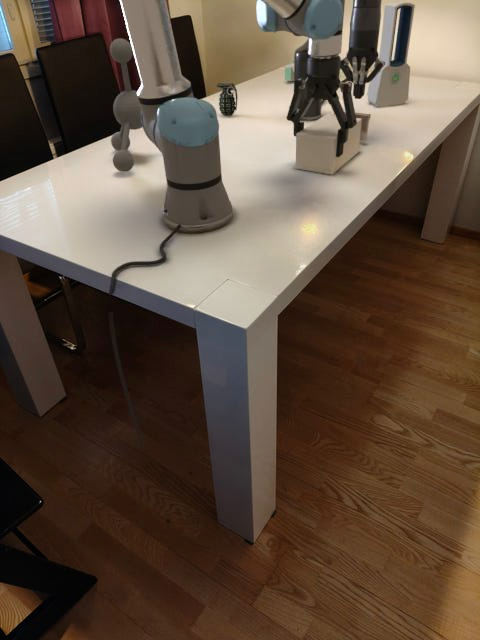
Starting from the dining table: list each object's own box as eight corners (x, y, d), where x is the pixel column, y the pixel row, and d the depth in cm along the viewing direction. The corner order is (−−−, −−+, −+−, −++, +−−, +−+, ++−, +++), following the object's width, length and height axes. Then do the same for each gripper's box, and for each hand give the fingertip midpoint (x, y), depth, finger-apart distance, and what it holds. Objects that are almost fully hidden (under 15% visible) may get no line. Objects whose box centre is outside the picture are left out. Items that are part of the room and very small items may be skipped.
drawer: (344, 130, 147) (346, 106, 143) (373, 134, 143) (376, 109, 139) (312, 153, 133) (313, 128, 128) (344, 158, 128) (346, 132, 124)
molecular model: (197, 163, 134) (184, 38, 115) (117, 178, 128) (90, 49, 109) (174, 139, 151) (159, 27, 133) (103, 151, 145) (77, 36, 127)
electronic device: (375, 107, 168) (387, 4, 150) (365, 102, 174) (375, 2, 155) (407, 103, 170) (423, 1, 152) (396, 98, 176) (410, -1, 158)
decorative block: (306, 53, 217) (348, 56, 208) (306, 69, 221) (346, 73, 212) (276, 65, 201) (319, 68, 192) (276, 82, 205) (318, 86, 196)
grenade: (217, 117, 168) (214, 86, 162) (221, 112, 172) (219, 82, 166) (235, 117, 166) (233, 86, 160) (239, 113, 171) (238, 82, 165)
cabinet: (324, 147, 139) (326, 114, 134) (358, 152, 135) (362, 118, 129) (295, 168, 128) (296, 133, 122) (332, 174, 123) (334, 139, 118)
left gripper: (378, 55, 109) (367, 153, 122) (287, 50, 119) (286, 141, 132) (366, 61, 104) (356, 163, 117) (272, 55, 114) (272, 150, 127)
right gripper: (394, 25, 126) (385, 97, 136) (346, 24, 131) (341, 93, 142) (385, 29, 121) (376, 103, 131) (335, 28, 127) (330, 99, 137)
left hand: (319, 152), depth 125 cm, fingers closed on cabinet, 10 cm apart
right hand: (358, 98), depth 137 cm, fingers closed
